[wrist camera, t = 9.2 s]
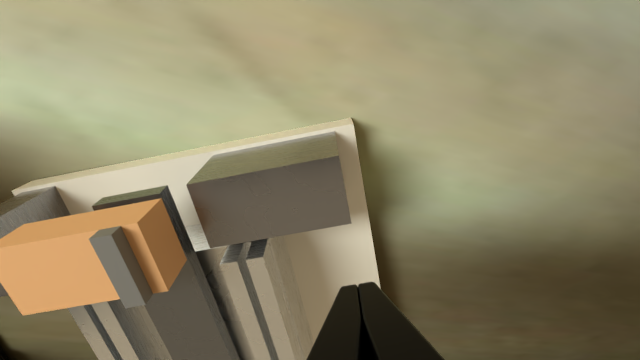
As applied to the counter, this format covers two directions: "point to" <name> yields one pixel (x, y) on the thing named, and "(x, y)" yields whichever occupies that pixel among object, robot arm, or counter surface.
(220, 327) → the grey lever
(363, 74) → the counter surface
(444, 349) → the counter surface
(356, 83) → the counter surface
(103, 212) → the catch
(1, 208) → the grey piece
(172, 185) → the board
